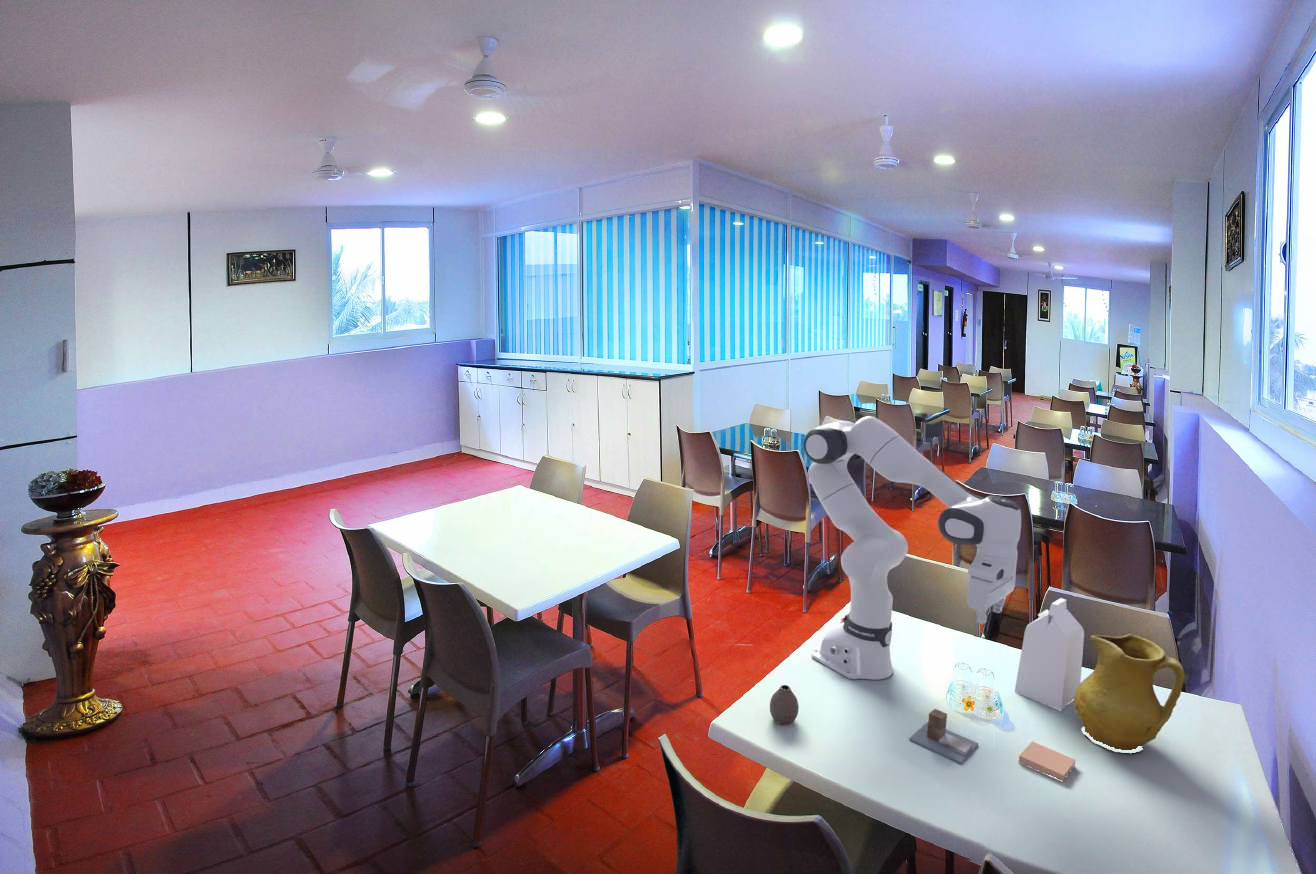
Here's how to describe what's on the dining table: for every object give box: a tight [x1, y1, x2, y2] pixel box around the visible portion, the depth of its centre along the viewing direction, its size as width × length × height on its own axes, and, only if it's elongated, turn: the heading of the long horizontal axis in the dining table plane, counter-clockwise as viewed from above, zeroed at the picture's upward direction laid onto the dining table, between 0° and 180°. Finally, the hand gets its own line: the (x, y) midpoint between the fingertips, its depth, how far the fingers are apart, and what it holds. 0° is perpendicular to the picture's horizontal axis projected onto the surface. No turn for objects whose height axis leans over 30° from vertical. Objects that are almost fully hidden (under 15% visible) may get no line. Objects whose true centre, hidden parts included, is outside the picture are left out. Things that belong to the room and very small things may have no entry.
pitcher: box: [1073, 633, 1185, 750], centre depth 161 cm, size 17×19×25 cm
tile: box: [1018, 741, 1077, 782], centre depth 153 cm, size 2×8×9 cm
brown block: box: [927, 708, 972, 755], centre depth 159 cm, size 9×4×6 cm, turn 45°
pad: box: [908, 721, 979, 765], centre depth 160 cm, size 12×10×1 cm
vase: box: [769, 684, 800, 726], centre depth 167 cm, size 7×7×9 cm
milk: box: [1014, 597, 1085, 711], centre depth 181 cm, size 12×12×26 cm
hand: (989, 617), depth 169 cm, fingers open, 8 cm apart
